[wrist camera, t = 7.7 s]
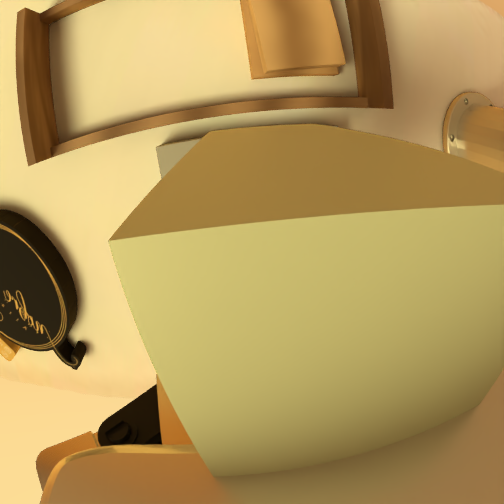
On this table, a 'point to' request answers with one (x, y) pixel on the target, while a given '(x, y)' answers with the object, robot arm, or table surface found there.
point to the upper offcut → (296, 34)
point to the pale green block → (316, 292)
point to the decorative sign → (35, 293)
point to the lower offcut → (256, 61)
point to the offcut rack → (45, 131)
